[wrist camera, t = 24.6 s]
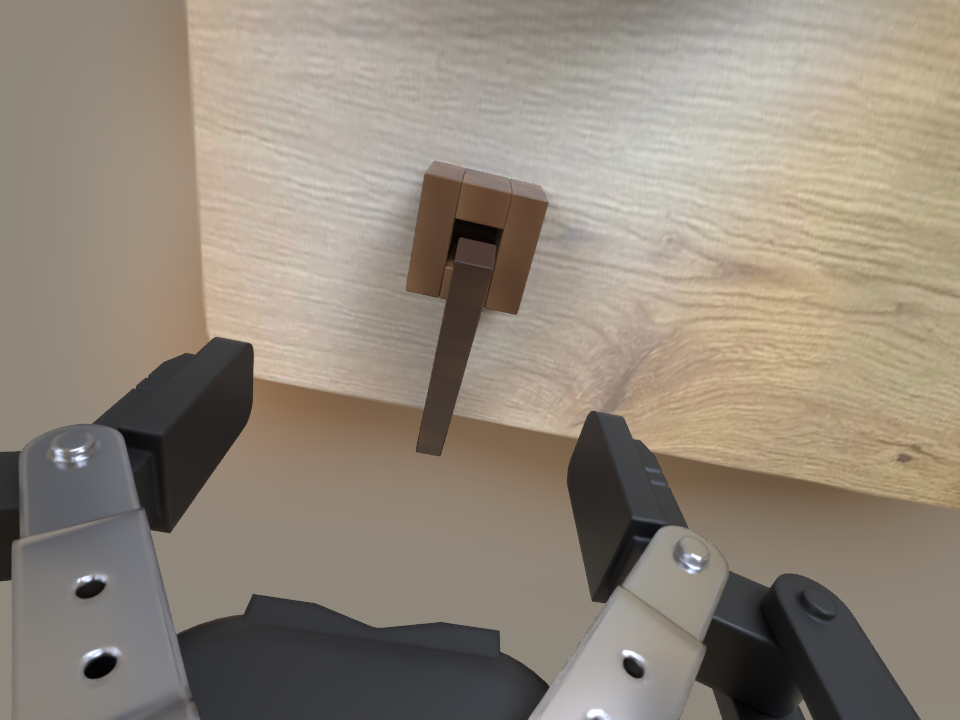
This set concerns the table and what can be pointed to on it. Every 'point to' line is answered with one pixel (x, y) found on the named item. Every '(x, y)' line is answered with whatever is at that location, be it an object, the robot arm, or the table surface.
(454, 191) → the stick stand
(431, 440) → the stirring stick
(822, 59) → the table surface
